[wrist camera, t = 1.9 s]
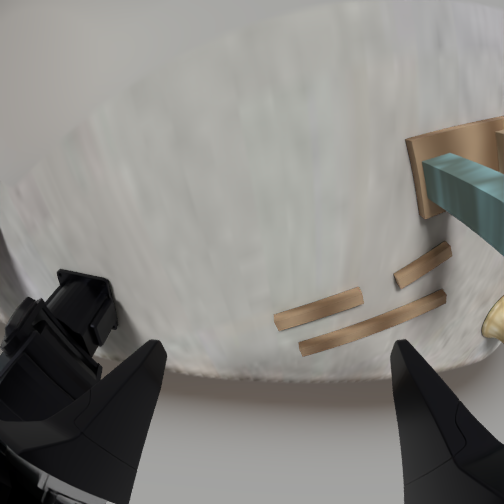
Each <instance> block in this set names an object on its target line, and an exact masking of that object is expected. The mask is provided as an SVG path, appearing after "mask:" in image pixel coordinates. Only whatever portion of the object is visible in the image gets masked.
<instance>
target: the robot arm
mask: <svg viewBox="0 0 504 504" xmlns="http://www.w3.org/2000/svg"><path fill="white" fill-rule="evenodd" d="M57 276H58V280H59V283H60V286H59V287H58V288H57V289H56V290H55V291H54V292H53V294H52V295H51V296H50V297H49V298H48V300H47V301H46V302H44V300H43V299H42V298H40V299H39V300H37V301H35V299H34V300H33V299H32V298H30V297H27V298H26V299H25V300H24V301H23V302H22V303H21V305H20V306H19V307H18V308H17V309H16V311H15V312H14V314H13V315H12V317H11V318H10V320H9V322H8V323H7V325H6V327H5V336H4V339H3V341H2V344H1V346H0V348H1V349H2V351H3V352H2V354H1V355H0V504H106V502H107V501H109V502H112V503H115V504H129V501H130V496H131V492H132V489H133V484H134V480H135V477H136V473H137V469H138V465H139V461H140V458H141V453H142V450H143V446H144V443H145V440H146V436H147V433H148V429H149V426H150V422H151V419H152V416H153V412H154V409H155V406H156V403H157V399H158V396H159V393H160V389H161V385H162V379H163V375H164V370H165V365H166V360H167V353H166V351H165V349H164V347H163V345H162V343H161V342H160V341H159V340H153V339H151V340H149V341H147V342H146V343H145V344H144V345H143V346H141V347H140V348H139V349H138V350H137V351H135V352H134V353H133V354H132V355H131V356H129V357H128V358H127V359H126V360H124V361H123V362H122V363H121V364H120V365H119V366H117V367H116V368H115V369H114V370H112V371H111V372H110V373H109V374H108V375H106V376H105V377H104V378H103V379H102V380H100V379H101V373H102V366H101V365H100V364H99V363H97V362H96V361H95V360H94V359H93V358H92V356H93V355H94V353H95V351H96V349H97V347H98V346H102V345H103V344H104V342H105V340H106V338H107V337H108V335H109V333H110V331H111V329H113V330H116V329H117V327H118V322H117V315H116V311H115V306H114V302H113V300H112V296H111V291H110V286H109V282H108V280H107V279H106V278H102V277H97V276H92V275H87V274H82V273H78V272H73V271H68V270H64V269H59V270H58V271H57ZM390 361H391V373H392V386H393V397H394V403H395V409H396V415H397V422H398V429H399V437H400V445H401V455H402V466H403V479H404V504H504V444H502V443H501V442H499V441H498V440H497V439H496V438H495V437H494V436H493V435H492V434H491V433H490V432H489V431H488V430H487V429H486V428H485V427H484V426H483V425H482V424H481V423H480V422H479V421H478V420H477V419H476V418H475V417H474V416H473V415H472V414H471V413H470V412H469V410H468V409H467V408H466V407H465V406H464V405H463V403H462V402H461V401H459V399H458V398H457V396H456V395H455V394H454V393H453V391H452V390H451V389H450V388H449V387H448V386H447V384H446V383H445V382H444V381H443V380H442V379H441V377H440V376H439V375H438V374H437V373H436V372H435V370H434V369H433V368H432V367H431V366H430V365H429V364H428V363H427V361H426V360H425V359H424V358H423V357H422V356H421V355H420V354H419V353H418V351H417V350H416V349H415V348H414V347H413V346H412V345H411V344H410V343H409V342H408V341H407V340H406V339H403V340H397V341H396V342H395V344H394V346H393V349H392V352H391V356H390Z"/></svg>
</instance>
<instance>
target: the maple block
mask: <svg viewBox="0 0 504 504" xmlns="http://www.w3.org/2000/svg"><path fill="white" fill-rule="evenodd" d="M495 134H496V141H497V149H498V159H499V172H500V173H502V174H504V130H500V131H496V132H495Z"/></svg>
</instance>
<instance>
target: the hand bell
mask: <svg viewBox="0 0 504 504" xmlns="http://www.w3.org/2000/svg"><path fill="white" fill-rule="evenodd" d="M482 334H483V336H484V337H487V338H496V339H498V340H500V341H501V342H502V343H504V296H503V297H501V299H500V300H499V301H498V302H497V303H496V304H495V305H494V306H493V308H492V309H491V310H490V312H489V314H488V315H487V317H486V319H485V321H484V324H483V327H482Z"/></svg>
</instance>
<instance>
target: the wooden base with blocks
mask: <svg viewBox="0 0 504 504" xmlns="http://www.w3.org/2000/svg"><path fill="white" fill-rule="evenodd" d="M500 130H504V116H501V117H496V118H491V119H486V120H481V121H476V122H472V123H467V124H463V125H458V126H454V127H450V128H446V129H442V130H438V131H434V132H430V133H426V134H422V135H419V136H415V137H411V138H408V139H405V141H406V145H407V149H408V153H409V158H410V162H411V167H412V172H413V177H414V183H415V188H416V195H417V201H418V208H419V215H420V216H422V217H423V218H424V219H428V218H430V217H433V216H435V215H438V214H440V213H443V212H445V211H447V212H449V213H450V214H451V215H453V216H454V217H455V218H457V219H458V220H460V221H461V222H462V223H464V224H465V225H466V226H468V227H469V228H470V229H471V230H473V231H474V232H475V233H477V234H478V235H479V236H480V237H482V238H483V239H484V240H485V241H486V242H488V243H489V244H490V245H491V246H492V247H494V248H495V249H496V250H497V251H498V252H499V253H501V254H502V255H503V256H504V174H502V173H500V172H499V159H498V149H497V141H496V134H495V132H496V131H500Z"/></svg>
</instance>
